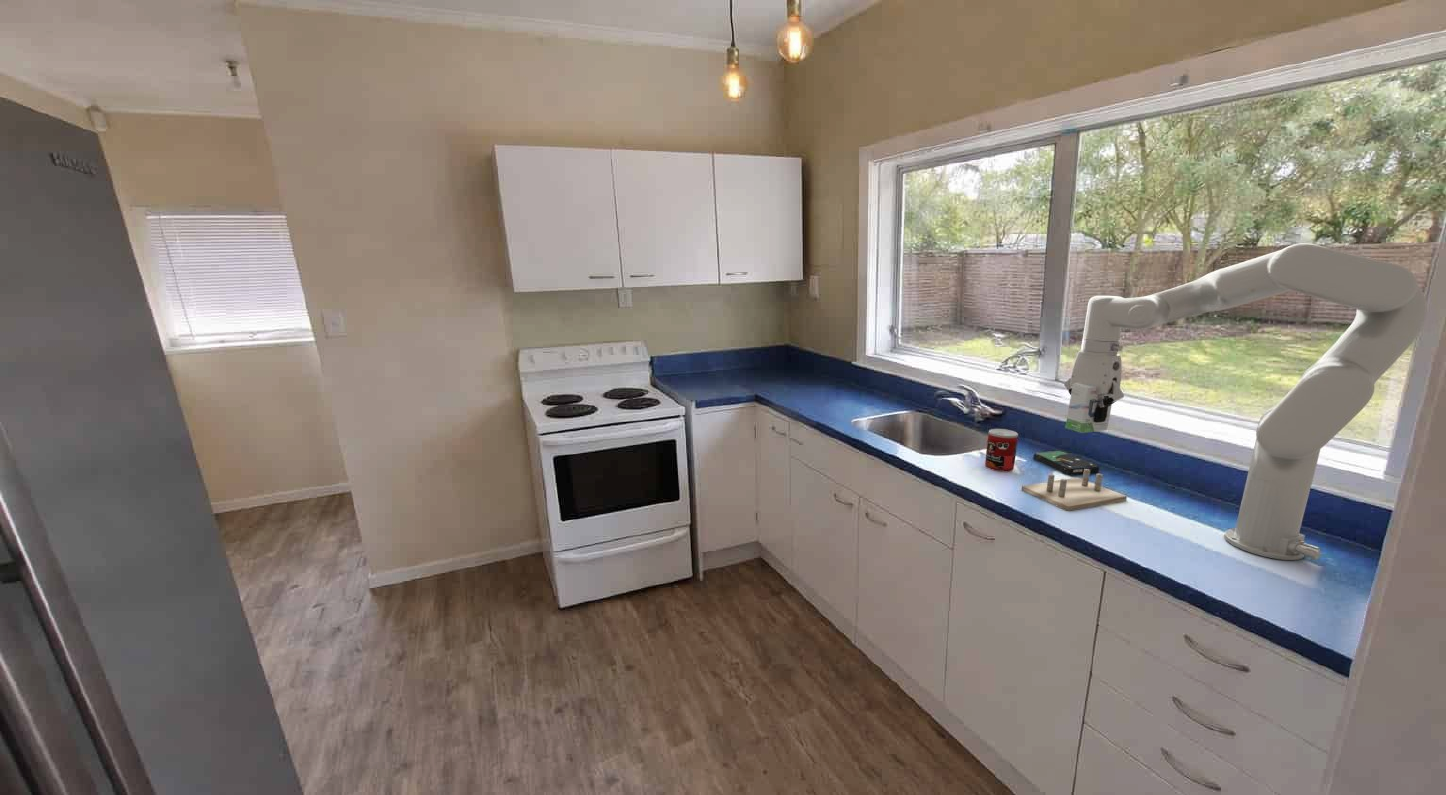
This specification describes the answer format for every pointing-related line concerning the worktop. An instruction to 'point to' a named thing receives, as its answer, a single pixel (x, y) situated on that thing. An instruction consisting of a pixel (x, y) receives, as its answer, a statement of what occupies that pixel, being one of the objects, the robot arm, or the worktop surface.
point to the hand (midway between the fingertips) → (1088, 418)
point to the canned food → (1001, 449)
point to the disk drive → (1065, 462)
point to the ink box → (1084, 410)
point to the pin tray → (1074, 492)
